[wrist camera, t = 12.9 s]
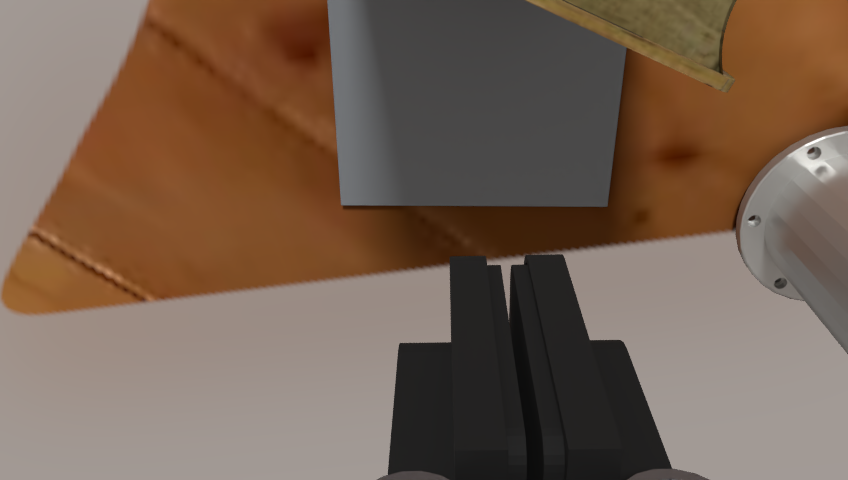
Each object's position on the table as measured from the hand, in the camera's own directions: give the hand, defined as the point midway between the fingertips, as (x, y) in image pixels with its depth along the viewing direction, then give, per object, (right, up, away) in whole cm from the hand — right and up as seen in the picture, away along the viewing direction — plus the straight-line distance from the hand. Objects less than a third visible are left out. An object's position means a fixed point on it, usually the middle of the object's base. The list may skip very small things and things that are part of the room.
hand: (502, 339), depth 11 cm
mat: (+2, +10, +35) cm, 37 cm away
